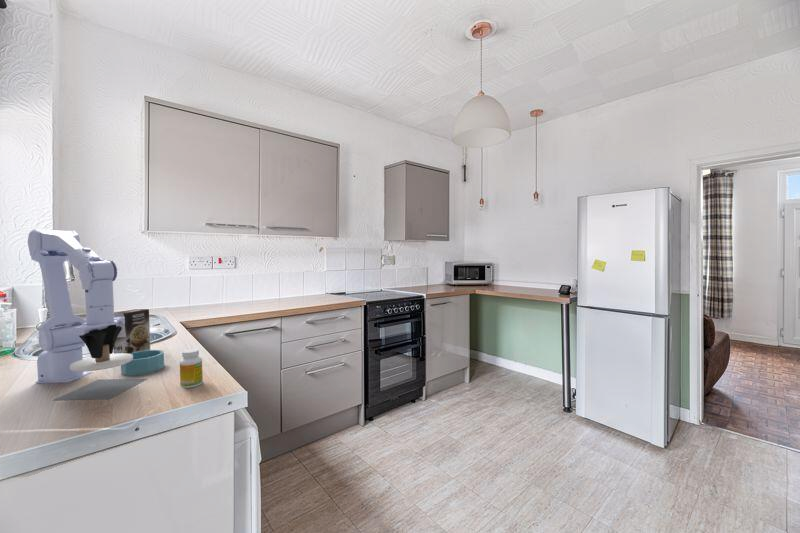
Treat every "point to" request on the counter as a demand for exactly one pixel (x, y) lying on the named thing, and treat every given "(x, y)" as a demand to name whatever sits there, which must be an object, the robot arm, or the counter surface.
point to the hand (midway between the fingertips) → (102, 355)
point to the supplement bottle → (191, 369)
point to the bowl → (144, 362)
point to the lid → (101, 361)
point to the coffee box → (133, 331)
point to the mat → (101, 389)
